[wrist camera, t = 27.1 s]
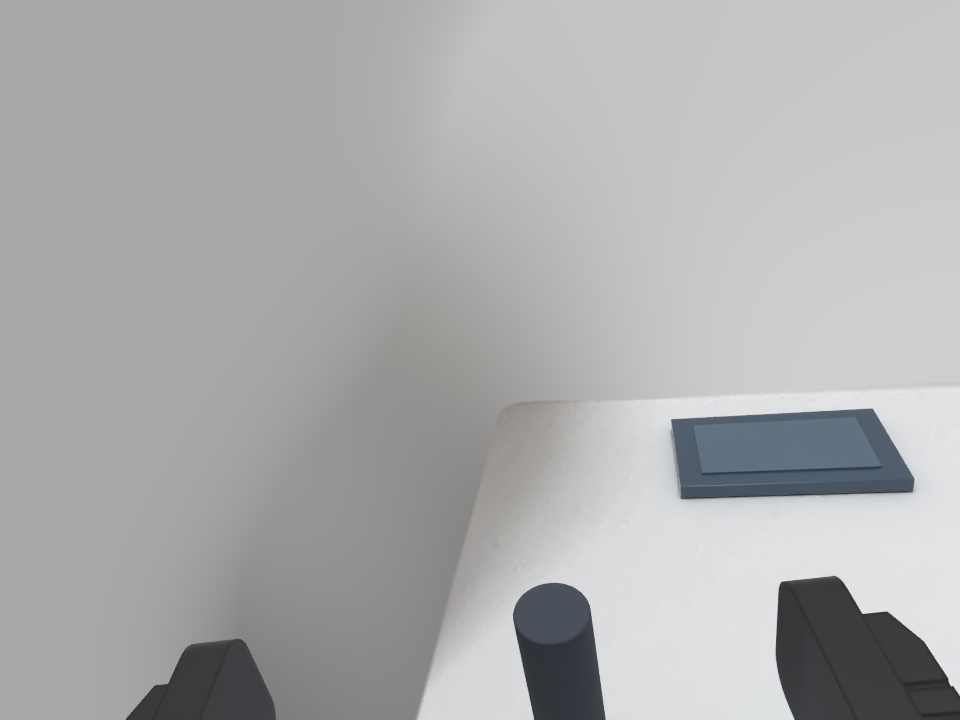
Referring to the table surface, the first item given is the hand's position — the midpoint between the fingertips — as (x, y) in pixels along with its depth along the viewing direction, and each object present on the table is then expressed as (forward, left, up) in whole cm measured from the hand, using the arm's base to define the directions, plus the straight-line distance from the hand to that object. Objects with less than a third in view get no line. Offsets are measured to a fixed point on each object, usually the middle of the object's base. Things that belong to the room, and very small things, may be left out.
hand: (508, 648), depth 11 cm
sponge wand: (-7, +9, -23) cm, 26 cm away
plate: (-7, +36, -23) cm, 43 cm away
